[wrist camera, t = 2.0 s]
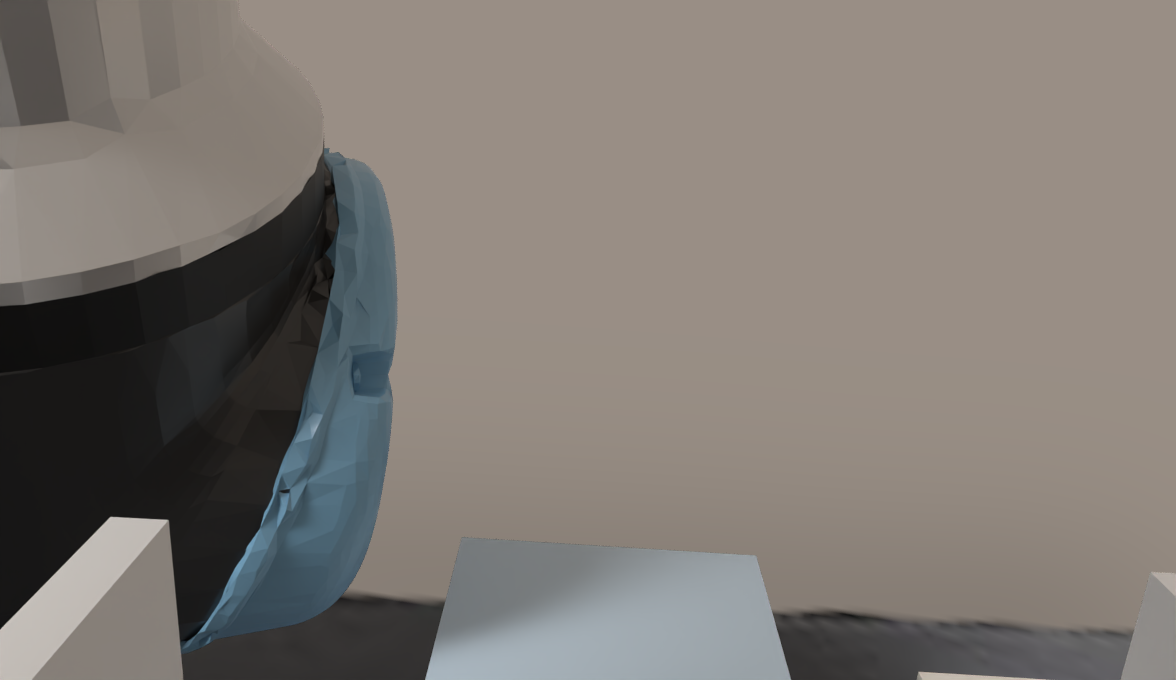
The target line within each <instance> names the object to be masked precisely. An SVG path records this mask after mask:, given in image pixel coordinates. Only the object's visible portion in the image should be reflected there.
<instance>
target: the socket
mask: <svg viewBox="0 0 1176 680" xmlns="http://www.w3.org/2000/svg"><path fill="white" fill-rule="evenodd" d="M917 680H1044V679H1028V678H1011V677H995V676H978V675H962V674H945V673H929V672H918V676H917Z"/></svg>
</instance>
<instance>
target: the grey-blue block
mask: <svg viewBox="0 0 1176 680" xmlns="http://www.w3.org/2000/svg"><path fill="white" fill-rule="evenodd" d="M425 680H791V678H790V674H789V671H788V667H787V664H786V660H785V656H784V653H783V649H782V646H781V642H780V639H779V635H778V631H777V628H776V624H775V621H774V617H773V614H772V610H771V607H770V603H769V599H768V596H767V593H766V589H765V585H764V582H763V578H762V574H761V571H760V567H759V564H758V561H757V557H756V556H755V555H739V554H724V553H708V552H691V551H676V550H660V549H644V548H627V547H611V546H595V545H579V544H578V545H577V544H562V543H545V542H530V541H514V540H499V539H498V540H497V539H482V538H466V537H462V540H461V543H460V547H459V551H458V555H457V558H456V563H455V566H454V570H453V574H452V578H451V582H450V586H449V590H448V593H447V597H446V601H445V605H444V609H443V613H442V617H441V620H440V624H439V628H438V632H437V636H436V640H435V644H434V648H433V652H432V655H431V659H430V663H429V667H428V671H427V675H426V679H425Z"/></svg>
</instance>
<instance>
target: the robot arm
mask: <svg viewBox="0 0 1176 680" xmlns="http://www.w3.org/2000/svg"><path fill="white" fill-rule="evenodd" d="M396 328H397V274H396V261H395V246H394V236H393V229H392V223H391V219H390V214H389V210H388V205H387V201H386V197H385V193H384V190H383V187H382V184H381V182H380V181H379V179H378V178H377V177H376V175H375V174H374V172H373V171H372V170H371V168H370V167H368V166H367V165H366V164H365V163H363V162H360V161H357V160H355V159H349V158H344V157H343V156H342V155H341V154H340V153H339V152H336V153H329V148H325V149H324V123H323V114H322V110H321V105H320V101H319V99H318V97H317V95H316V93H315V91H314V90H313V88H312V86H311V84H310V82H309V81H308V80H307V79H306V77H305V76H304V75H303V74H302V73H301V71H300V70H299V69H298V68H297V67H296V66H294V65H293V64H292V63H291V62H290V61H288V59H286V58H285V57H284V56H283V55H282V54H281V53H280V52H279V51H278V50H276V49H275V48H274V47H273V46H272V45H271V44H270V43H269V42H267V41H266V40H265V39H264V38H263V37H262V36H261V35H260V34H258V33H257V32H256V31H255V30H254V29H253V28H252V27H251V26H249V25H248V24H247V23H246V22H245V21H244V20H243V19H242V18H241V17H240V15H239V1H238V0H0V680H183V670H182V659H181V654H185V653H190V652H192V651H194V650H197V649H199V648H201V647H203V646H205V645H207V644H209V643H211V642H212V641H213V640H215V639H220V638H226V637H231V636H236V635H242V634H247V633H253V632H258V631H264V630H269V629H275V628H280V627H285V626H290V625H294V624H298V623H301V622H304V621H307V620H309V619H311V618H313V617H315V616H317V615H318V614H320V613H322V612H323V611H325V610H326V609H328V608H329V607H330V606H332V605H333V604H334V603H335V602H336V601H337V600H338V599H339V598H340V597H341V596H342V595H343V594H344V592H345V591H346V590H347V588H348V587H349V585H350V584H351V582H352V581H353V579H354V578H355V576H356V574H357V572H358V570H359V568H360V566H361V564H362V562H363V560H364V557H365V554H366V552H367V549H368V546H369V543H370V540H371V537H372V533H373V530H374V526H375V522H376V518H377V514H378V509H379V504H380V500H381V494H382V488H383V482H384V476H385V471H386V465H387V459H388V451H389V443H390V434H391V423H392V408H393V398H392V392H391V386H390V381H389V377H388V373H389V370H390V367H391V365H392V360H393V353H394V348H395V339H396ZM1121 680H1176V573H1161V572H1150V576H1149V579H1148V583H1147V586H1146V590H1145V594H1144V597H1143V601H1142V605H1141V608H1140V611H1139V616H1138V619H1137V623H1136V626H1135V630H1134V633H1133V637H1132V640H1131V644H1130V648H1129V651H1128V655H1127V658H1126V662H1125V666H1124V669H1123V673H1122V677H1121Z"/></svg>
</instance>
